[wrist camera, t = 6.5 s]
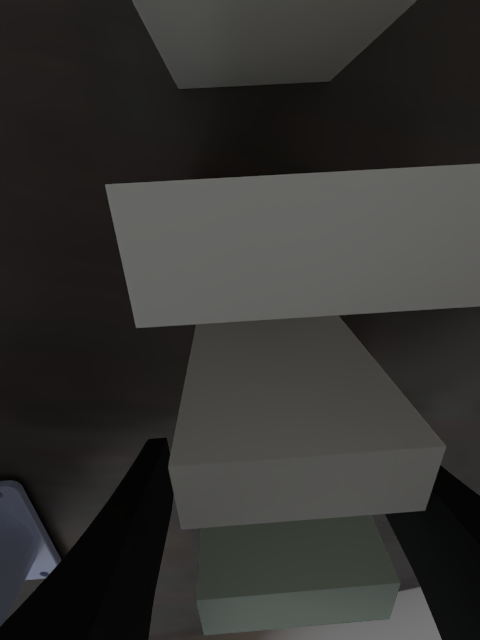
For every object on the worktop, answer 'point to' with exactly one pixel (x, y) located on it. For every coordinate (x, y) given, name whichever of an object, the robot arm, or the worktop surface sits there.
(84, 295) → the worktop surface
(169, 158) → the worktop surface
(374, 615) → the domino
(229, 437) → the domino
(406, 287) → the domino
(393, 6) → the domino
